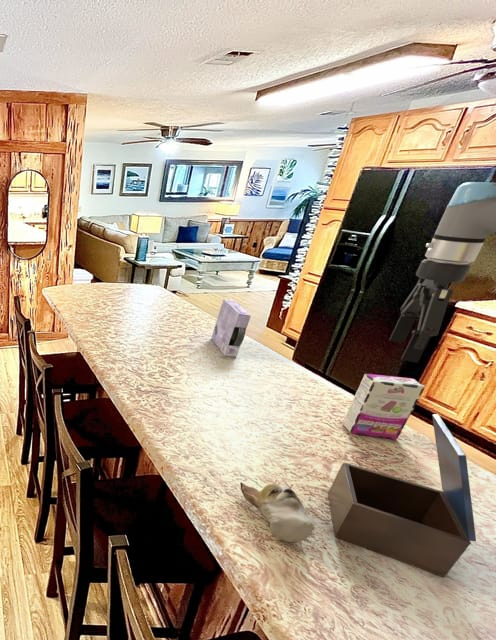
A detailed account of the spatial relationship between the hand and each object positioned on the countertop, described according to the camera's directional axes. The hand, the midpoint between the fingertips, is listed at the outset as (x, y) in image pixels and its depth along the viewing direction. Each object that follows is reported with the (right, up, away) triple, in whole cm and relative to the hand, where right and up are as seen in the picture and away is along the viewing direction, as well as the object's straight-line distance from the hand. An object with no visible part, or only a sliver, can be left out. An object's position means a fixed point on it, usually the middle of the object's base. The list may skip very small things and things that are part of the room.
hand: (402, 350), depth 92 cm
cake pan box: (-9, +2, +63) cm, 64 cm away
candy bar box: (+4, -22, +14) cm, 27 cm away
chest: (-20, -36, -16) cm, 44 cm away
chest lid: (-17, -22, -25) cm, 37 cm away
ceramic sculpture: (-40, -35, -14) cm, 55 cm away
